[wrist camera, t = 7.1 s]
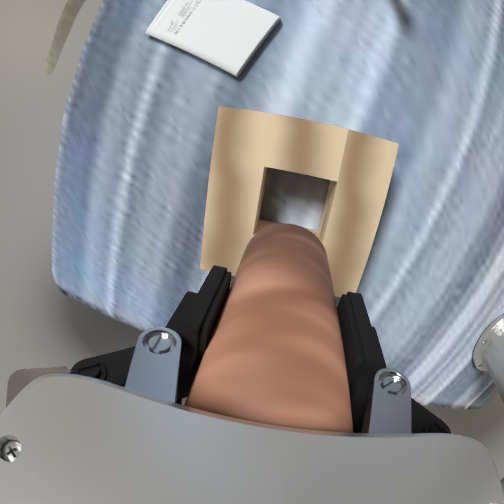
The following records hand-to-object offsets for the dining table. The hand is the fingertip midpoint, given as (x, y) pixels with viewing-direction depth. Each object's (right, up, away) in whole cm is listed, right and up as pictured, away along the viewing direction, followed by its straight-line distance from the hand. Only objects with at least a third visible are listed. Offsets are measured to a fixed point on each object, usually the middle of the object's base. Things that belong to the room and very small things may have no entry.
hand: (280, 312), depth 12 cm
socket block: (+3, +8, +19) cm, 21 cm away
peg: (+1, +2, +4) cm, 4 cm away
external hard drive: (-5, +27, +13) cm, 30 cm away
